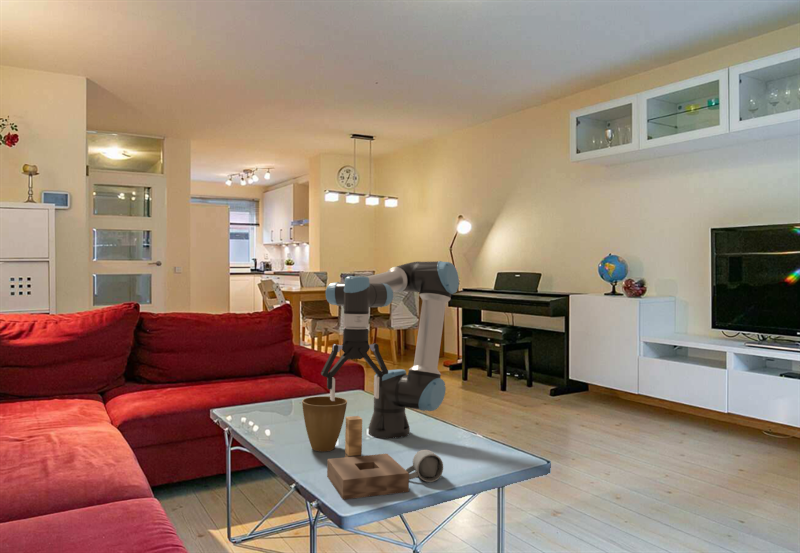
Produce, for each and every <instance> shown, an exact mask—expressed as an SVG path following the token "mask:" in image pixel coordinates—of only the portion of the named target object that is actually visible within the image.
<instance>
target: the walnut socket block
mask: <svg viewBox="0 0 800 553" xmlns="http://www.w3.org/2000/svg"><path fill="white" fill-rule="evenodd" d="M326 464H327V465H326V466H327V467H326V468H327V470H326V473H327V474H326V476H327V478H328V480H329V482H330V483H331V485H333V487H334V489H335V491H336V492H337V494H338V495H339V496H340V498H341V499H342V500H352V499H358V498H359V499H360V498H367V497H377V496H385V495H393V494H401V493H402V494H403V493H409V490H410V488H409V486H410V483H409V481H410V480H409V474H410V473H408V472H407V471H406V468H404V467H403V466H401V465H400V463H399V462H397V461H396V460H395V459H394V458H393V457H392V456H390V454H389V453H379V454H377V453H376V454H366V455H362V456H355V457H345V456H344V457H335V458H327V463H326Z"/></svg>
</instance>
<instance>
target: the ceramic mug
mask: <svg viewBox="0 0 800 553" xmlns="http://www.w3.org/2000/svg"><path fill="white" fill-rule="evenodd" d="M405 470H406V471H407V472H408V473H409V481H411V480H413V479H416V478H418V477H419V478H420V479H421V480H422V481H423V482H426V483H433V482H435V481H438V479H440V477H441V476H442V474H443V472H444V462H443V460H442V459H441V457H440V456H439V455H437V454H436V453H435V452H434V451H431V450H429V449H421V450H419V451H417V452H416V453H415V454H414V456H413V458H412V465H411V466H409V467H407V468H405Z"/></svg>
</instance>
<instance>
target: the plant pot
mask: <svg viewBox="0 0 800 553" xmlns="http://www.w3.org/2000/svg"><path fill="white" fill-rule="evenodd" d="M301 403H302V404H301V406H302V413H303V418H304V419H303V420H304V425H305V428H306V433H307V438H308V440H309V444H310V447H311V448H312V450H313V451H315V452H330V451H333V450H335V447H336V445H337V442H338V440H339V437H340V433H341V432H342V428H343V424H344V419H345V417H346V410H347V405H348V400H347V399H346V398H343V397H338V396H335V401H331V400H330V395H329V396H323V395H322V396H321V395H319V396H310V397H306V398H303V399H302V400H301Z"/></svg>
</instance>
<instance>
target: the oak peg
mask: <svg viewBox="0 0 800 553" xmlns="http://www.w3.org/2000/svg"><path fill="white" fill-rule="evenodd" d="M344 438H345V439H344V440H345V442H344V444H345V445H344V457H355V456H363V455H362V454H363V453H362V452H363V449H362V448H363V418H362V417H361V416H359V415H351V416H345V437H344Z"/></svg>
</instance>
